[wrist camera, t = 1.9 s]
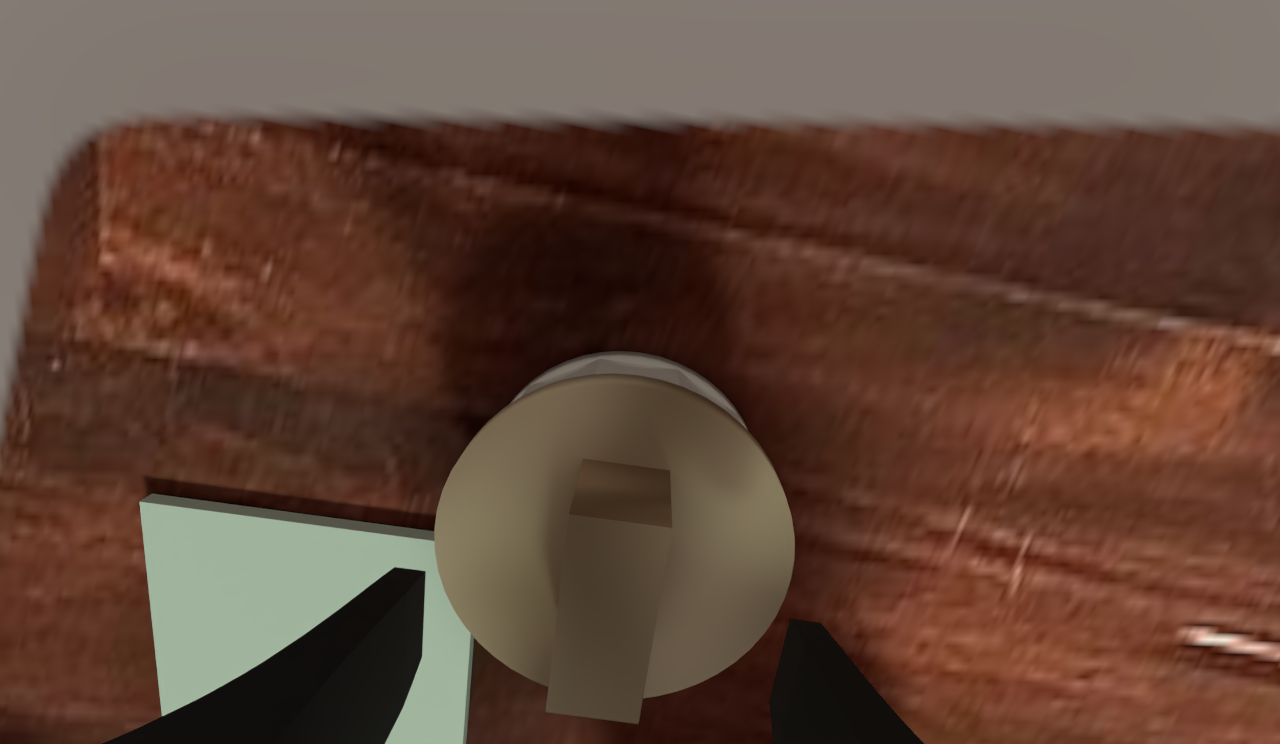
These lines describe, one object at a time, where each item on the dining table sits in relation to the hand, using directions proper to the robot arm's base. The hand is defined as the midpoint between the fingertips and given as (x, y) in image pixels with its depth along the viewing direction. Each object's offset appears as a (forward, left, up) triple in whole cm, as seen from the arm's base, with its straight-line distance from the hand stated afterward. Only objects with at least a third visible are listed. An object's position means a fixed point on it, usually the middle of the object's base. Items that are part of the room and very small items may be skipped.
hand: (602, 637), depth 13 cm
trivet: (+9, +8, -7) cm, 14 cm away
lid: (0, 0, -4) cm, 4 cm away
